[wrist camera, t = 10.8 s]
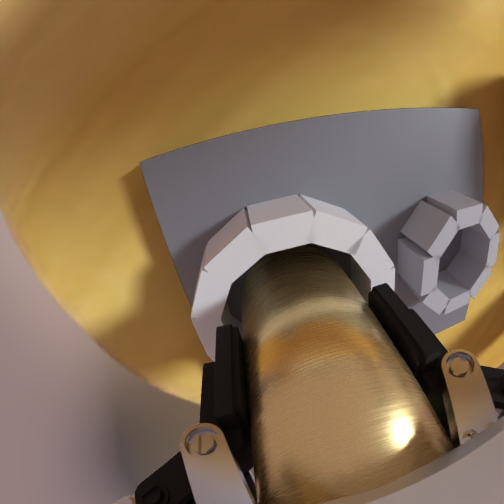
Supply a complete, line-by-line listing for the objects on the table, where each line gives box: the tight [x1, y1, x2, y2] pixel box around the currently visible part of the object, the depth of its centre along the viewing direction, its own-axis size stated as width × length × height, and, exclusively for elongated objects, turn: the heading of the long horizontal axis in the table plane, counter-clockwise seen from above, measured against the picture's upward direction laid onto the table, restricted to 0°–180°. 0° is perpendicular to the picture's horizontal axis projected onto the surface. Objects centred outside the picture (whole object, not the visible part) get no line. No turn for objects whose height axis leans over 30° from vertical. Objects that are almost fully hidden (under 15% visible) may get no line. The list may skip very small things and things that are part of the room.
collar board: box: [139, 108, 500, 362], centre depth 13 cm, size 15×18×4 cm
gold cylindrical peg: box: [240, 246, 455, 504], centre depth 8 cm, size 5×5×10 cm
